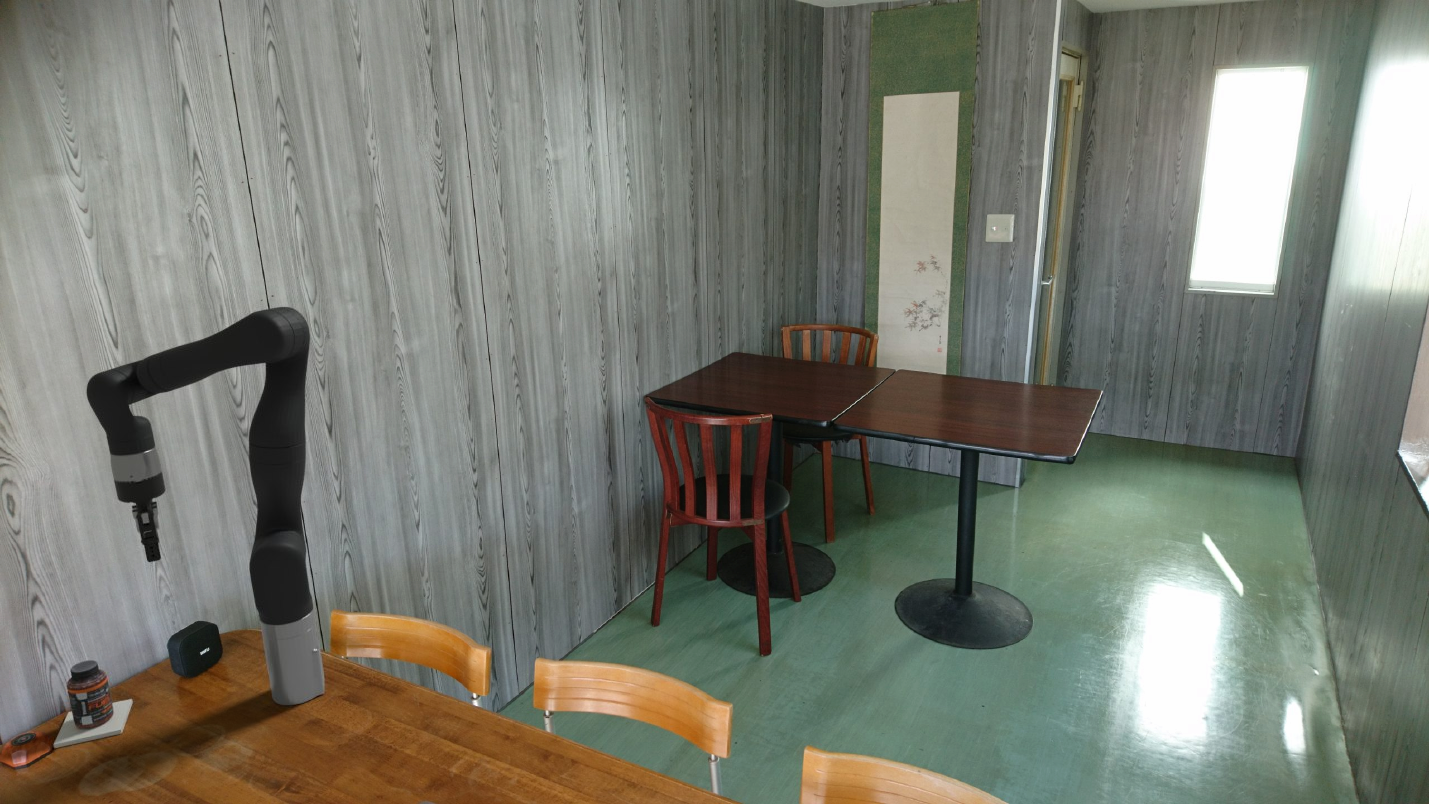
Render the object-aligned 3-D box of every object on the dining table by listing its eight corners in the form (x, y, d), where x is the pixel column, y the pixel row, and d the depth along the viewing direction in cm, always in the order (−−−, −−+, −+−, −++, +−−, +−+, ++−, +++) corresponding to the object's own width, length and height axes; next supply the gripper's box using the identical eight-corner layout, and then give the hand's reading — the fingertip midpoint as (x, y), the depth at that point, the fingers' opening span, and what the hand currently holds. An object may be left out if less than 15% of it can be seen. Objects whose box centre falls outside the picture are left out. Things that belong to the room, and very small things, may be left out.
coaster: (132, 702, 162) (131, 698, 162) (121, 733, 153) (120, 729, 153) (69, 715, 158) (68, 712, 158) (54, 748, 149) (53, 744, 149)
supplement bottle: (95, 732, 152) (83, 676, 149) (66, 728, 153) (53, 673, 150) (122, 711, 158) (111, 658, 155) (94, 708, 159) (82, 655, 156)
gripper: (113, 465, 161) (129, 543, 165) (112, 488, 149) (130, 571, 154) (159, 458, 165) (174, 534, 169) (163, 479, 153) (178, 561, 158)
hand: (153, 552), depth 162 cm, fingers open, 8 cm apart
